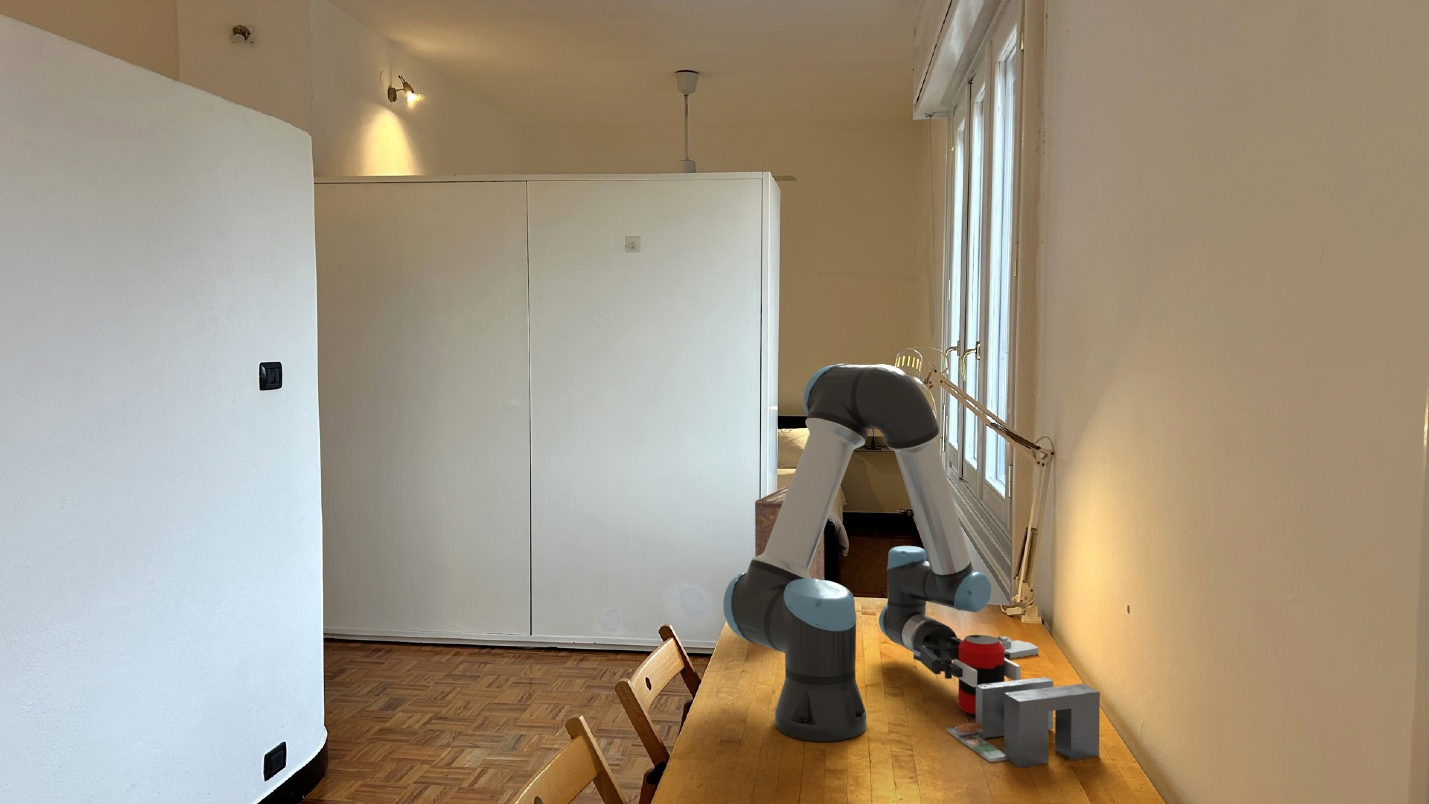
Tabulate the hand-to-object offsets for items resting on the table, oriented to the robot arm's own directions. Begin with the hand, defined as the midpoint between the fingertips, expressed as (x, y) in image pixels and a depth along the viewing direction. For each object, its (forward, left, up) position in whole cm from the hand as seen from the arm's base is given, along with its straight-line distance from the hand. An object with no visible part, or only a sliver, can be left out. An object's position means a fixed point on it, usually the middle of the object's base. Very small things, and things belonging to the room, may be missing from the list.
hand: (996, 676), depth 168 cm
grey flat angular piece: (+23, +34, -9) cm, 42 cm away
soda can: (0, +5, -7) cm, 9 cm away
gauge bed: (-1, -9, -8) cm, 12 cm away
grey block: (-2, -8, -8) cm, 11 cm away
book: (-11, +68, -8) cm, 69 cm away
